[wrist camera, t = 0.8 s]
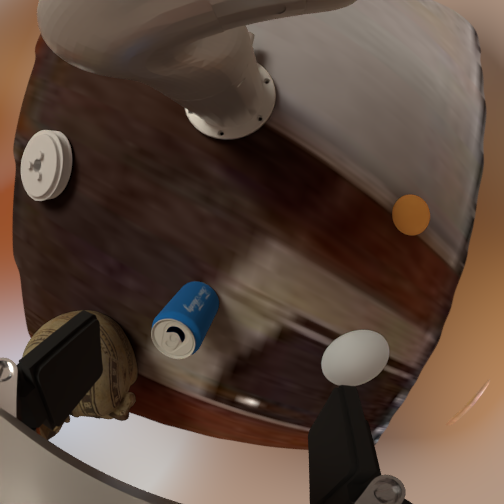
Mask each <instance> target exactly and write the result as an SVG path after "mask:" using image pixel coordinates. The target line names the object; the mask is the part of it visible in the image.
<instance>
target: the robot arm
mask: <svg viewBox="0 0 504 504" xmlns="http://www.w3.org/2000/svg"><path fill="white" fill-rule="evenodd" d="M355 1H357V0H39V3H38V8H37V20H38V26H39V29H40V32H41V34H42V37H43V39H44V40H45V42H46V43H47V45H48V46H49V47H50V48H51V49H52V50H53V52H54V53H56V54H57V55H58V56H59V57H61V58H62V59H63V60H65V61H66V62H68V63H70V64H71V65H73V66H76V67H78V68H80V69H82V70H85V71H88V72H92V73H95V74H99V75H103V76H108V77H114V78H121V79H128V80H134V81H139V82H142V83H144V84H147V85H149V86H151V87H153V88H154V89H156V90H158V91H160V92H161V93H163V94H164V95H166V96H167V97H169V98H170V99H172V100H174V101H175V102H177V103H178V104H180V105H181V106H183V107H184V108H185V111H186V115H187V117H188V119H189V120H190V122H191V123H192V124H193V126H194V127H195V128H196V129H198V130H199V131H200V132H202V133H203V134H205V135H207V136H210V137H212V138H215V139H221V140H234V139H239V138H243V137H245V136H248V135H250V134H252V133H254V132H255V131H257V130H258V129H259V128H260V127H262V126H263V125H264V124H265V122H266V121H267V120H268V119H269V117H270V115H271V113H272V111H273V109H274V105H275V99H276V92H275V86H274V82H273V80H272V78H271V76H270V74H269V73H268V72H267V71H266V69H265V68H264V67H262V66H261V65H260V64H259V63H257V62H256V58H255V54H254V51H253V47H252V45H253V41H254V34H253V33H251V32H248V30H247V27H246V25H249V24H253V23H258V22H263V21H267V20H273V19H278V18H284V17H290V16H297V15H303V14H311V13H319V12H326V11H332V10H337V9H340V8H344V7H347V6H349V5H351V4H353V3H354V2H355ZM266 82H269V84H265V83H266ZM191 112H192V113H191ZM259 118H262V121H259ZM222 132H223V133H224V135H223V136H221V133H222ZM102 373H103V364H102V353H101V339H100V323H99V320H97V317H96V315H94V314H92V313H90V312H87V311H85V310H83V311H81V312H79V313H78V314H77V315H75V316H74V317H73V318H72V319H70V320H69V321H68V322H66V323H65V324H64V325H62V326H61V327H60V328H59V329H57V330H56V331H55V332H54V333H52V334H51V335H50V336H49V337H47V338H46V339H45V340H44V341H42V342H41V343H40V344H39V345H37V346H36V347H35V348H34V349H32V350H31V351H30V352H29V353H28V354H26V355H25V356H24V357H23V358H22V359H20V360H19V364H18V365H16V364H15V363H14V362H13V361H12V360H9V359H7V358H0V504H181V503H178V502H175V501H172V500H169V499H165V498H163V497H160V496H157V495H154V494H151V493H149V492H146V491H144V490H141V489H138V488H136V487H133V486H131V485H129V484H126V483H124V482H122V481H120V480H117V479H115V478H113V477H111V476H109V475H107V474H105V473H103V472H101V471H99V470H97V469H95V468H93V467H91V466H89V465H87V464H86V463H84V462H82V461H80V460H78V459H77V458H75V457H73V456H72V455H70V454H68V453H67V452H65V451H63V450H62V449H60V448H59V447H57V446H55V445H54V444H52V443H51V442H49V441H48V440H46V439H45V438H43V437H42V436H40V428H39V427H40V426H41V425H42V424H43V425H45V426H46V427H48V428H49V429H51V430H52V431H53V430H54V429H55V427H56V426H57V427H59V426H61V425H62V423H63V422H64V421H65V420H66V418H67V417H68V416H69V415H70V413H71V412H72V411H73V410H74V408H75V407H76V406H77V405H78V404H79V402H80V401H81V400H82V399H83V397H84V396H85V395H86V394H87V393H88V391H89V390H90V389H91V388H92V386H93V385H94V384H95V383H96V382H97V380H98V379H99V378H100V377H101V375H102ZM308 447H309V479H310V480H309V483H310V504H412V503H411V502H409V501H407V500H406V499H404V497H405V487H404V485H403V483H402V482H401V481H400V480H399V479H398V478H396V477H393V476H391V475H381V472H380V468H379V463H378V459H377V455H376V451H375V447H374V442H373V438H372V435H371V431H370V427H369V424H368V421H367V420H365V418H364V414H363V410H362V407H361V403H360V399H359V396H358V392H357V389H356V387H355V386H349V385H340V386H339V387H338V388H334V390H333V391H332V393H331V395H330V397H329V398H328V400H327V402H326V404H325V405H324V407H323V409H322V411H321V412H320V414H319V416H318V417H317V419H316V420H315V422H314V424H313V425H312V427H311V429H310V431H309V434H308Z"/></svg>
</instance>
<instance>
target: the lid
mask: <svg viewBox="0 0 504 504" xmlns="http://www.w3.org/2000/svg"><path fill="white" fill-rule="evenodd" d="M71 169H72V150H71V146H70V143H69V141H68V139H67V138H66V136H65V135H64V134H63V133H61V132H59V131H50V130H42V131H39V132H38V133H36V134H35V135H34V136H33V137H32V138H31V139H30V141H29V143H28V144H27V146H26V148H25V151H24V153H23V156H22V161H21V178H22V182H23V185H24V188H25V190H26V192H27V194H28V195H29V196H30V197H31V198H32V199H34V200H36V201H43V200H46V199H53V198H55V197H57V196H58V195H60V194H61V193H62V191H63V190H64V189H65V187H66V185H67V183H68V181H69V178H70V174H71Z"/></svg>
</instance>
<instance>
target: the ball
mask: <svg viewBox="0 0 504 504" xmlns="http://www.w3.org/2000/svg"><path fill="white" fill-rule="evenodd" d="M392 218H393V222H394V224H395V226H396V227H397V229H398V230H399V231H401V232H402V233H404V234H406V235H417V234H420V233H422V232H423V231H424V230H425V229H426V228H427V226H428V224H429V221H430V211H429V208H428V205H427V204H426V202H425V201H424V200H423V199H422V198H420V197H419V196H416V195H405V196H402V197H401V198H399V199H398V200H397V201H396V203H395V204H394V207H393V210H392Z"/></svg>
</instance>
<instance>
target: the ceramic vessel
mask: <svg viewBox="0 0 504 504" xmlns="http://www.w3.org/2000/svg"><path fill="white" fill-rule="evenodd" d="M81 311H83V310H80V311H74V312H69V313H66V314H63V315H60V316H58V317H56V318H54V319H52V320H50V321H49V322H47V323H46V324H45V325H43V326H42V327H41V328H40V329H39V330H38V331H37V332H36V333H35V334H34V335H33V337H32V338H31V339H30V341H29V342H28V344H27V346H26V348H25V351H24V353H23V357H24V356H25V355H26V354H28V353H29V352H30V351H31V350H32V349H34V348H35V347H36V346H37V345H39V344H40V343H41V342H42V341H44V340H45V339H46V338H47V337H49V336H50V335H51V334H52V333H54V332H55V331H56V330H57V329H59V328H60V327H61V326H62V325H64V324H65V323H66V322H68V321H69V320H70V319H72V318H73V317H74V316H75V315H77V314H78V313H79V312H81ZM85 311H87V312H90V313H92V314H94V315H96V317H97V320H99V323H100V339H101V353H102V364H103V373H102V375H101V377H100V378H99V379H98V380H97V382H96V383H95V384H94V385H93V386H92V388H91V389H90V390H89V391H88V393H87V394H86V395H85V396H84V397H83V399H82V400H81V401H80V402H79V404H78V405H77V406H76V407H75V408H74V410H73V411H72V412H71V413H70V415H72V416H74V417H79V416H87V417H95V418H104V419H112V418H115V419H117V420H121V421H123V420H126V419H128V417H129V410H130V408H131V407H132V406H133V404H134V403H135V402H136V401H135V395H134V394H133V393H131V392H128V391H129V388H130V385H132V384H133V383H134V382H135V381H136V379H137V376H138V367H137V362H136V358H135V354H134V351H133V348H132V346H131V344H130V342H129V340H128V338H127V336H126V334H125V333H124V331H123V330H122V328H121V327H120V325H119V324H118V323H117V322H115V321H114V320H113V319H111V318H110V317H108V316H106V315H104V314H102V313H100V312H97V311H91V310H85ZM23 357H22V358H23ZM64 422H66V423H68V422H70V416H68V417H67V418H66V420H65V421H64ZM64 422H63V423H64ZM63 423H62V425H63ZM62 425H61V426H59V427H57V426H56V427H55V429H54V430H53V431H52V430H51V429H49V428H48V427H46V426H45V425H43V424H42V425H41V426H40V427H39V428H40V436H42V437H43V438H45V439H46V440H49V439H50V438H52V437H53V436H55V435H56V434H57V433H58V432H59V430H60V429H61V427H62Z"/></svg>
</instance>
